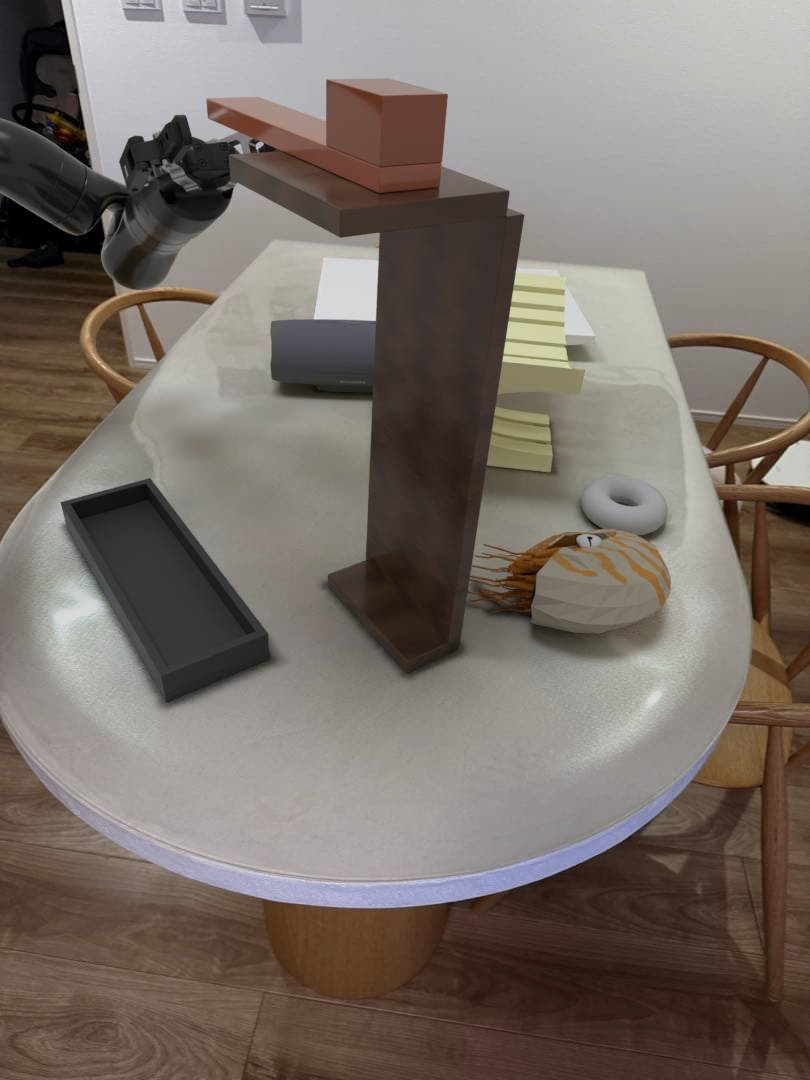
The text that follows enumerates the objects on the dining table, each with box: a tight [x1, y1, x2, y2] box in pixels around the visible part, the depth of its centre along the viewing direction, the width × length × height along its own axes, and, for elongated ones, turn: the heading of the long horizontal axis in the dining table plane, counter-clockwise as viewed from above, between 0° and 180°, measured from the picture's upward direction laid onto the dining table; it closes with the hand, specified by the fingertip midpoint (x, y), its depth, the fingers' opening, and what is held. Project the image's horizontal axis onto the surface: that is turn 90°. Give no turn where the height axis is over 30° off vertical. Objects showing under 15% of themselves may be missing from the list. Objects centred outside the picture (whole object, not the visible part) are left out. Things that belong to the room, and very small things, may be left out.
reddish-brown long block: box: [205, 78, 449, 193], centre depth 51 cm, size 24×4×5 cm, turn 35°
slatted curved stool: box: [487, 273, 586, 473], centre depth 97 cm, size 30×16×18 cm, turn 174°
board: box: [313, 257, 596, 346], centre depth 135 cm, size 45×32×5 cm
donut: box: [580, 474, 669, 536], centre depth 89 cm, size 10×4×10 cm
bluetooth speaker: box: [269, 318, 376, 393], centre depth 110 cm, size 23×9×10 cm, turn 94°
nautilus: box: [467, 528, 672, 635], centre depth 75 cm, size 8×22×15 cm
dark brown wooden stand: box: [229, 151, 525, 674], centre depth 60 cm, size 14×14×40 cm
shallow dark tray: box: [60, 477, 270, 703], centre depth 74 cm, size 29×10×3 cm, turn 35°
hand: (238, 125), depth 60 cm, fingers open, 8 cm apart
